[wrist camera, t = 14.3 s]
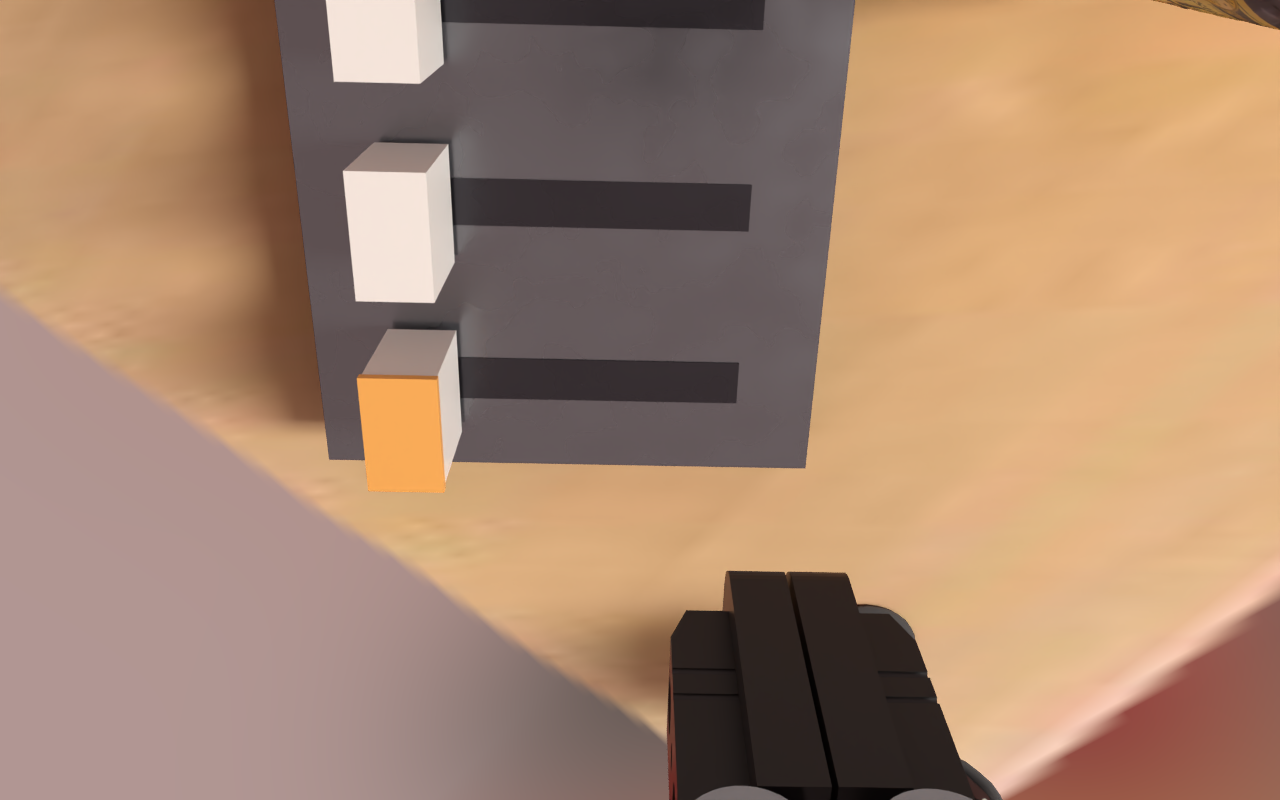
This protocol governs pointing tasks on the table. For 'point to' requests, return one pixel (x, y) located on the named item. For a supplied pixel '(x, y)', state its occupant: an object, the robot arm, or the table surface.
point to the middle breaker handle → (400, 221)
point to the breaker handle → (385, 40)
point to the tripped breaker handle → (410, 410)
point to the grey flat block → (596, 222)
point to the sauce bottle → (1236, 10)
